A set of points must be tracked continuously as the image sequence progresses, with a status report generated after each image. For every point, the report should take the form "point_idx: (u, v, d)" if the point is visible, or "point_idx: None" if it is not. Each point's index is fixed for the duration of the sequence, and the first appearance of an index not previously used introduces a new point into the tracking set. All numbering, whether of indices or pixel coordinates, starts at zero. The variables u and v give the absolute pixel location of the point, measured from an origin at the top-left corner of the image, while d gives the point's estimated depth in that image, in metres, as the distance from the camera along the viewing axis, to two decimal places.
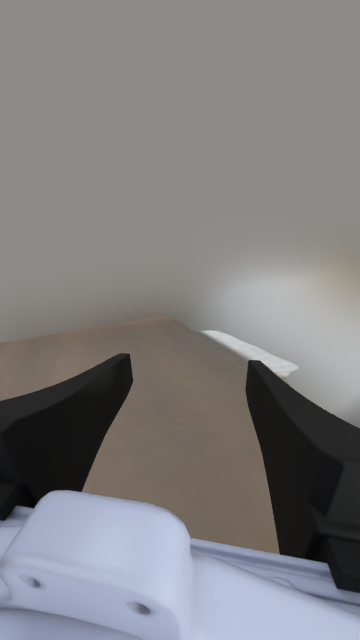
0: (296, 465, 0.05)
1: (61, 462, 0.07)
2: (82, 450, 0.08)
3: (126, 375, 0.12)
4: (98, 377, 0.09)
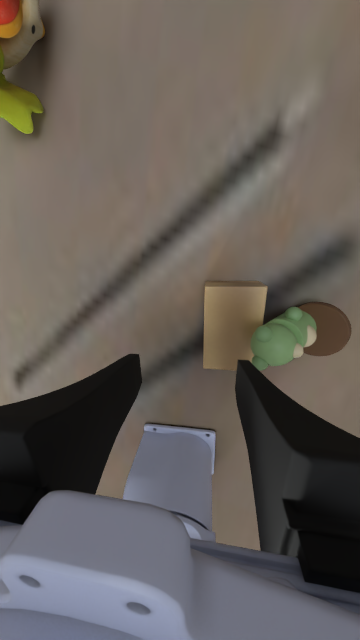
0: (273, 462, 0.05)
1: (77, 464, 0.07)
2: (96, 452, 0.08)
3: (136, 376, 0.11)
4: (111, 378, 0.09)
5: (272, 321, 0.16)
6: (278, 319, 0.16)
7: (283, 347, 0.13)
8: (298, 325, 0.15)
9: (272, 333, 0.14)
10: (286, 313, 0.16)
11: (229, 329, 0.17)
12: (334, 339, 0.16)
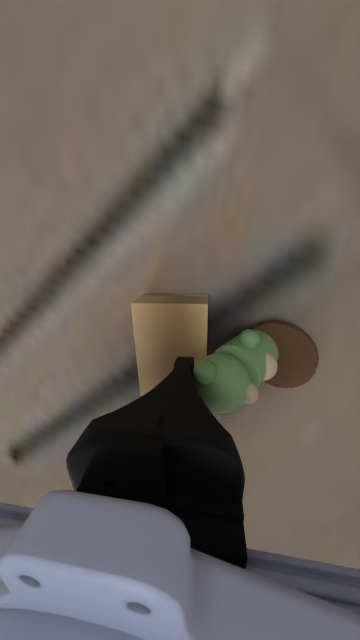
0: None
1: None
2: None
3: None
4: (184, 383, 0.08)
5: (222, 348, 0.12)
6: (229, 346, 0.12)
7: (230, 392, 0.09)
8: (254, 355, 0.11)
9: (216, 371, 0.09)
10: (240, 338, 0.12)
11: (166, 356, 0.14)
12: (299, 369, 0.13)
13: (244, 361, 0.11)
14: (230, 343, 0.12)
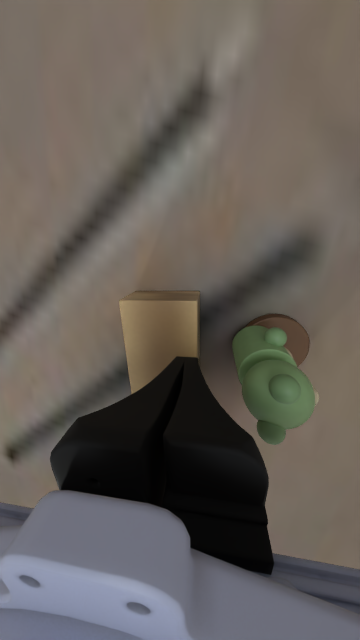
0: None
1: (160, 476, 0.06)
2: None
3: None
4: (174, 382, 0.08)
5: (257, 353, 0.11)
6: (265, 349, 0.11)
7: (312, 402, 0.08)
8: (288, 354, 0.11)
9: None
10: (271, 338, 0.11)
11: (156, 354, 0.13)
12: (294, 355, 0.14)
13: None
14: (261, 346, 0.11)
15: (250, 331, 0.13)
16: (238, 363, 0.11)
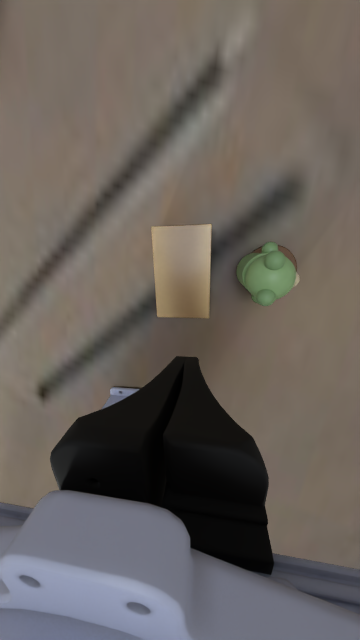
0: None
1: (160, 476, 0.06)
2: None
3: None
4: (174, 382, 0.08)
5: (256, 257, 0.15)
6: (262, 254, 0.15)
7: (293, 272, 0.12)
8: None
9: None
10: (266, 248, 0.15)
11: (178, 272, 0.17)
12: None
13: None
14: (259, 253, 0.15)
15: (251, 254, 0.17)
16: (242, 269, 0.15)
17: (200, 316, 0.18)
